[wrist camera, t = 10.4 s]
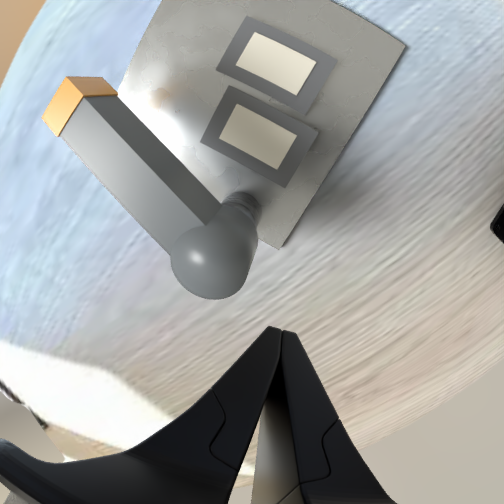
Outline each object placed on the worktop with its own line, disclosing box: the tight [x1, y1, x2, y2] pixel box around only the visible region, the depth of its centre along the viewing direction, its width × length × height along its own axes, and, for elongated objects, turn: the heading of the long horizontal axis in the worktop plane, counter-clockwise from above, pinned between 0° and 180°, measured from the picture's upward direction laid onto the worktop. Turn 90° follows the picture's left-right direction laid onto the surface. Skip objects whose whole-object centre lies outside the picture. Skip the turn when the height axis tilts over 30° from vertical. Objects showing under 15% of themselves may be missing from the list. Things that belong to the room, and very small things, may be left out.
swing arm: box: [42, 77, 258, 300], centre depth 15 cm, size 13×4×3 cm, turn 43°
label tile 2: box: [200, 85, 318, 188], centre depth 18 cm, size 6×4×1 cm, turn 62°
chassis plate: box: [117, 0, 405, 250], centre depth 16 cm, size 15×16×4 cm
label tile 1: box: [215, 16, 338, 115], centre depth 16 cm, size 6×4×1 cm, turn 62°
